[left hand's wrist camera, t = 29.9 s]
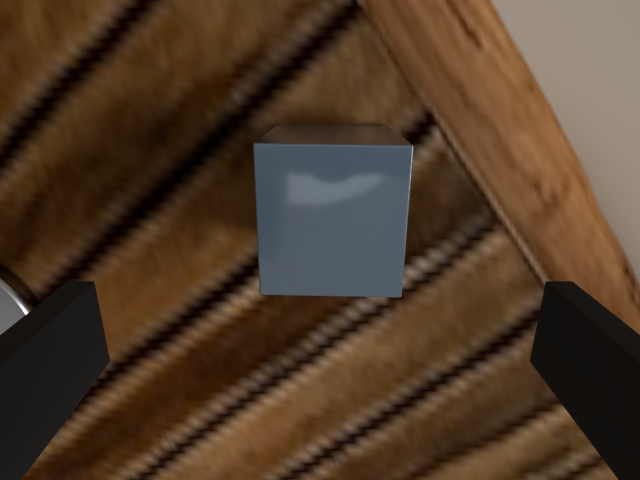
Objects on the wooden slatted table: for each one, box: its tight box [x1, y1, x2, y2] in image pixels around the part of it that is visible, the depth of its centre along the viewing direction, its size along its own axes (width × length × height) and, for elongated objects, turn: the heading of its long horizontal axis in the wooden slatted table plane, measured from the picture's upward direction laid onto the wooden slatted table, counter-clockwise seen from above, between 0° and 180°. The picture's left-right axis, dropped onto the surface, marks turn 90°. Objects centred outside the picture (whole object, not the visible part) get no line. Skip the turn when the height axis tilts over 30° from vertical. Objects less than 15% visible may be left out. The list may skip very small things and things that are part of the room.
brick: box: [253, 124, 414, 297], centre depth 25 cm, size 7×8×9 cm
